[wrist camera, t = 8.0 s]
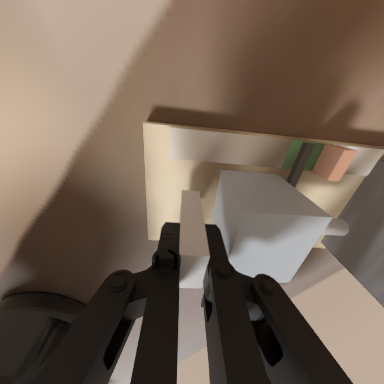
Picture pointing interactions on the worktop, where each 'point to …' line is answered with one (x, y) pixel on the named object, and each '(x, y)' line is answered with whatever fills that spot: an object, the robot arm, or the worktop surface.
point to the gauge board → (272, 164)
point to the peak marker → (333, 162)
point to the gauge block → (270, 220)
